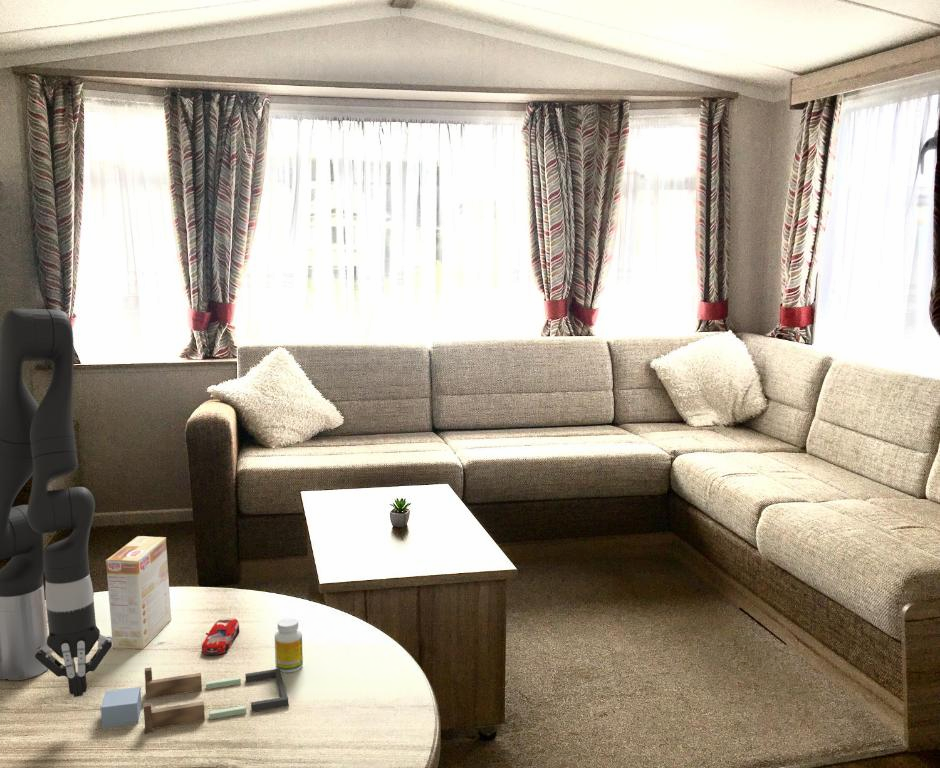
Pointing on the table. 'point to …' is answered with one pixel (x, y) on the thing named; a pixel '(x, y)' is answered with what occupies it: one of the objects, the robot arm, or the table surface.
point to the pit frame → (271, 702)
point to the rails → (228, 710)
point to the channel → (173, 713)
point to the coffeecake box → (138, 592)
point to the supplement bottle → (288, 646)
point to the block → (121, 707)
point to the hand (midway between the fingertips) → (78, 694)
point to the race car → (221, 636)
